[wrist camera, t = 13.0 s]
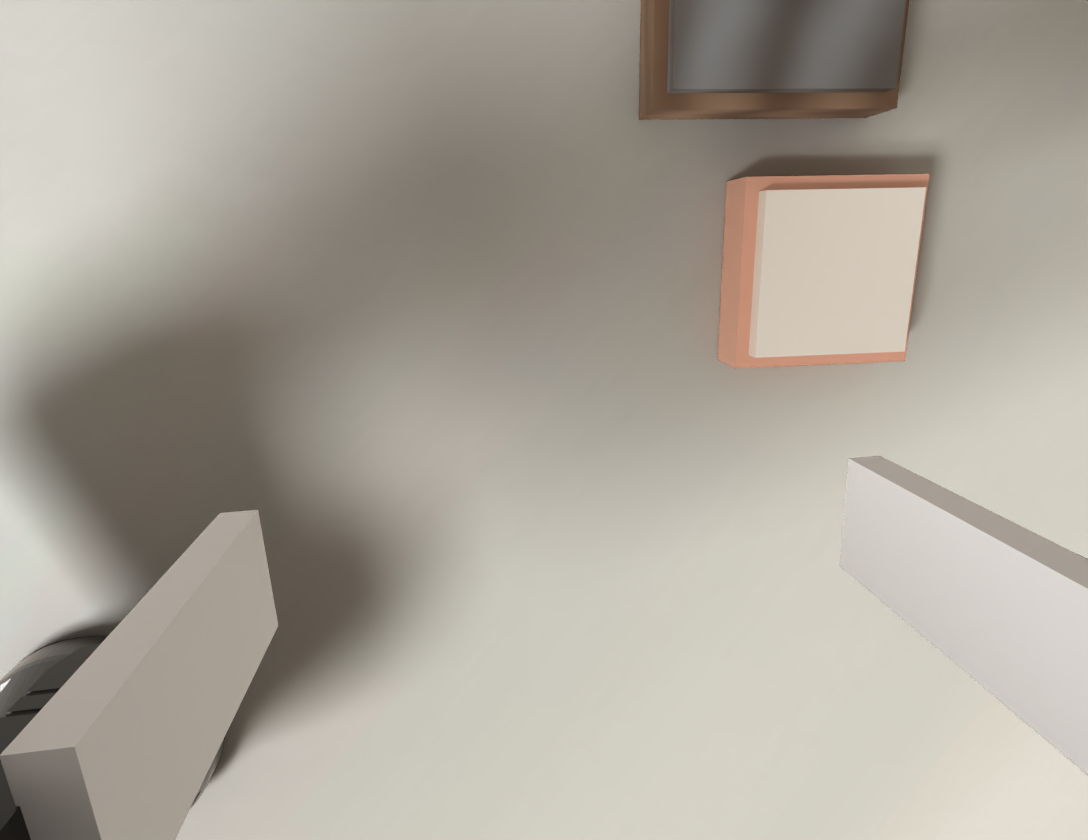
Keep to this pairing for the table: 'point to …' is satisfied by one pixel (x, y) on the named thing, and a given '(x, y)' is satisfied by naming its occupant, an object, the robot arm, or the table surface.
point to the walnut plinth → (770, 58)
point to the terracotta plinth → (819, 268)
